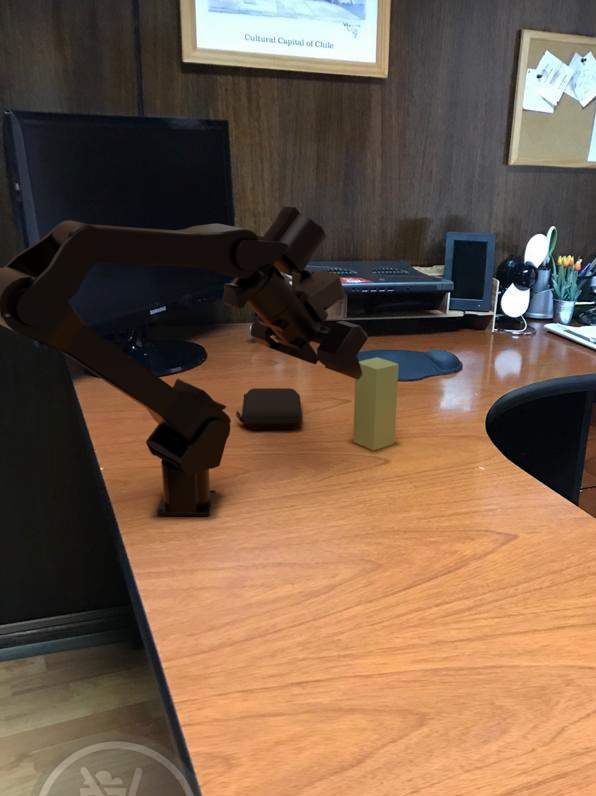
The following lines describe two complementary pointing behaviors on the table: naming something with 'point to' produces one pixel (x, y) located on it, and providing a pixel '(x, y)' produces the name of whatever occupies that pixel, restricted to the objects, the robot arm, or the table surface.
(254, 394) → the carrying case
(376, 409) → the block
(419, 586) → the table surface
